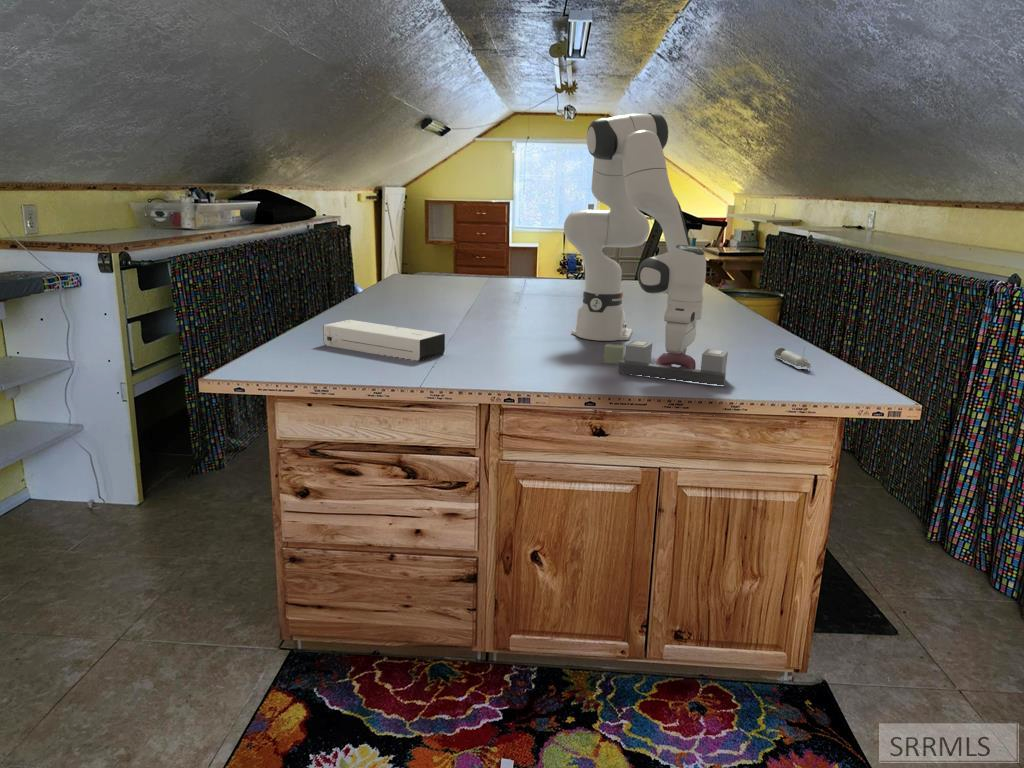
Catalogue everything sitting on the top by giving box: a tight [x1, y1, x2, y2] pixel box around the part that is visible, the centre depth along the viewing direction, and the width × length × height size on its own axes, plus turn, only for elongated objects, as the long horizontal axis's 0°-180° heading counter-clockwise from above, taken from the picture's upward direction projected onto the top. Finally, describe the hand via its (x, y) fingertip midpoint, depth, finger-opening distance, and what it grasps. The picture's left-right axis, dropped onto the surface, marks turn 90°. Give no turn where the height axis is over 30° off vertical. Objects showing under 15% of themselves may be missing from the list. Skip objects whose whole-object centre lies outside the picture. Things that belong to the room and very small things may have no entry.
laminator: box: [322, 319, 446, 362], centre depth 203 cm, size 34×12×6 cm, turn 60°
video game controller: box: [655, 352, 697, 369], centre depth 184 cm, size 10×5×7 cm, turn 72°
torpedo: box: [773, 346, 812, 370], centre depth 200 cm, size 18×5×7 cm, turn 7°
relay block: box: [603, 343, 626, 364], centre depth 198 cm, size 4×5×4 cm
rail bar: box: [618, 359, 727, 385], centre depth 180 cm, size 2×26×3 cm, turn 65°
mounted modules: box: [624, 340, 729, 374], centre depth 184 cm, size 7×24×7 cm, turn 65°
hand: (679, 364), depth 188 cm, fingers closed
